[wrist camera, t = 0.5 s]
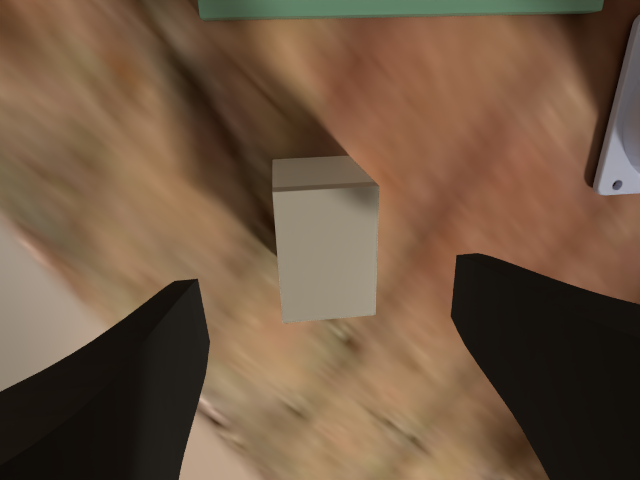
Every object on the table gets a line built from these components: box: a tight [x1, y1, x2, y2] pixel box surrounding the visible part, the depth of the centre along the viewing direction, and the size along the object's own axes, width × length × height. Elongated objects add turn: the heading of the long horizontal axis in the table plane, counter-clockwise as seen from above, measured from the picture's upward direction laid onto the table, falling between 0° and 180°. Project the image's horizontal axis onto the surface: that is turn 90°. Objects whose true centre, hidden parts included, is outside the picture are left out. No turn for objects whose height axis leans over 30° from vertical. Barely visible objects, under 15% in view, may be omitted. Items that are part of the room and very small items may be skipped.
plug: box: [272, 156, 379, 323], centre depth 16 cm, size 4×5×6 cm
